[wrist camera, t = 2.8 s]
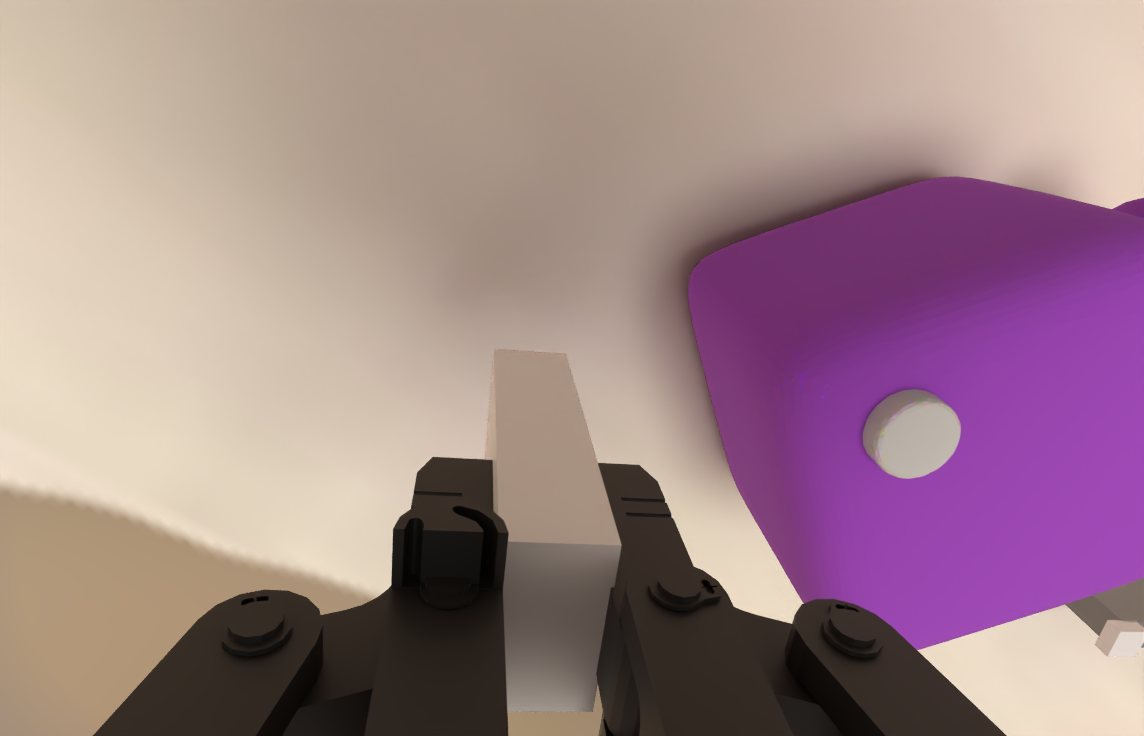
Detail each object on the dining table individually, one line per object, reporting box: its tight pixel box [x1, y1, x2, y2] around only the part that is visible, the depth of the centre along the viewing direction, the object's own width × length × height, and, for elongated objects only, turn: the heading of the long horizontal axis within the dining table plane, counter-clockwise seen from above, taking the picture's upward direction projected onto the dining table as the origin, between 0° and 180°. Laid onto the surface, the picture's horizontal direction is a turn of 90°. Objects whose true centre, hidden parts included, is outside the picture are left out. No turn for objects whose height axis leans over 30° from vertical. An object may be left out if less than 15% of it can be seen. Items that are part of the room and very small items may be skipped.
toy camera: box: [688, 177, 1144, 650], centre depth 19 cm, size 11×14×10 cm
